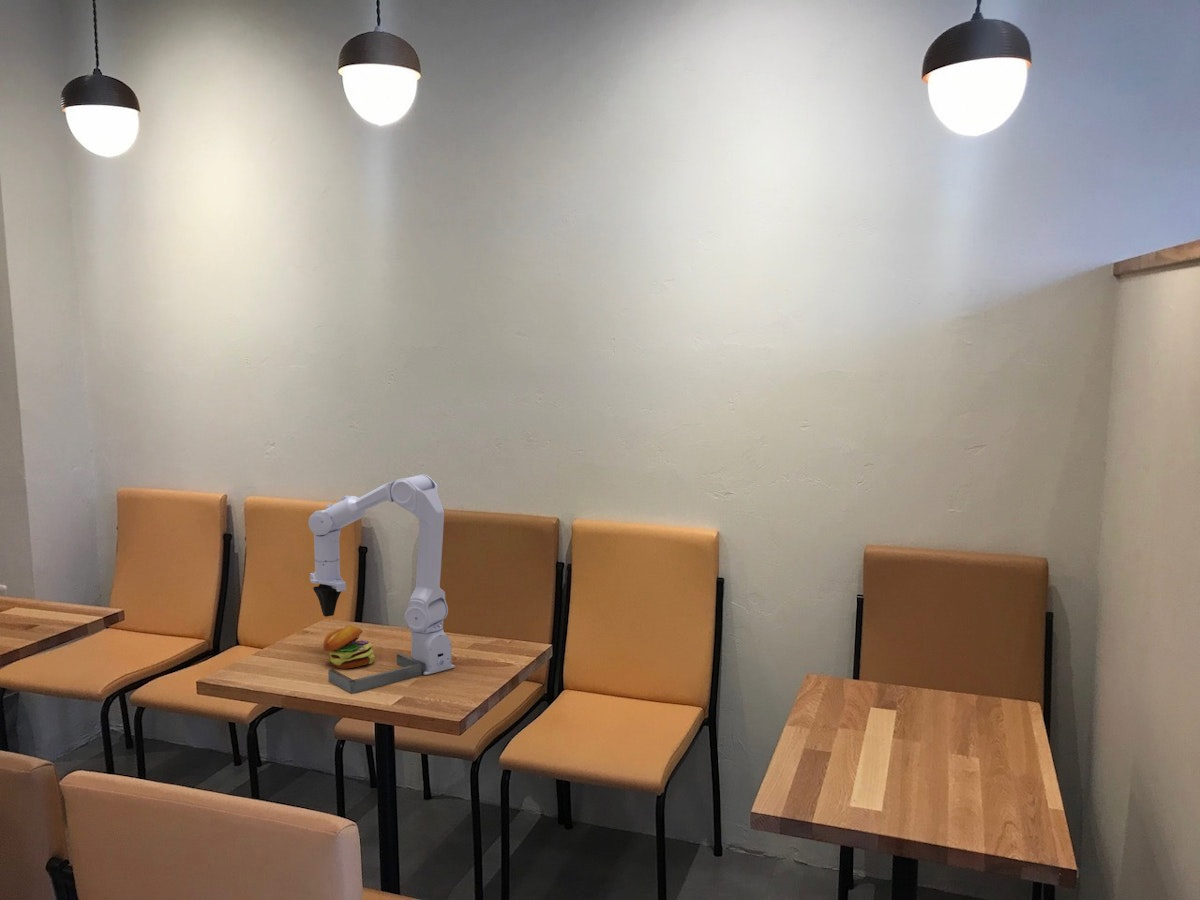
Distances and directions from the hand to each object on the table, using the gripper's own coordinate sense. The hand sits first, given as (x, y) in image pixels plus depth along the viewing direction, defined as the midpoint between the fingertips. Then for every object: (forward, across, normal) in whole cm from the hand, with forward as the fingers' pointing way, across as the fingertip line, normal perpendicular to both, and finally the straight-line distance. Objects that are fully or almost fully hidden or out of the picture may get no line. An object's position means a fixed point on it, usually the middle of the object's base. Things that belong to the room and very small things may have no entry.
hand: (328, 615), depth 223 cm
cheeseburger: (+10, +10, 0) cm, 14 cm away
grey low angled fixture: (+9, +23, 0) cm, 25 cm away
